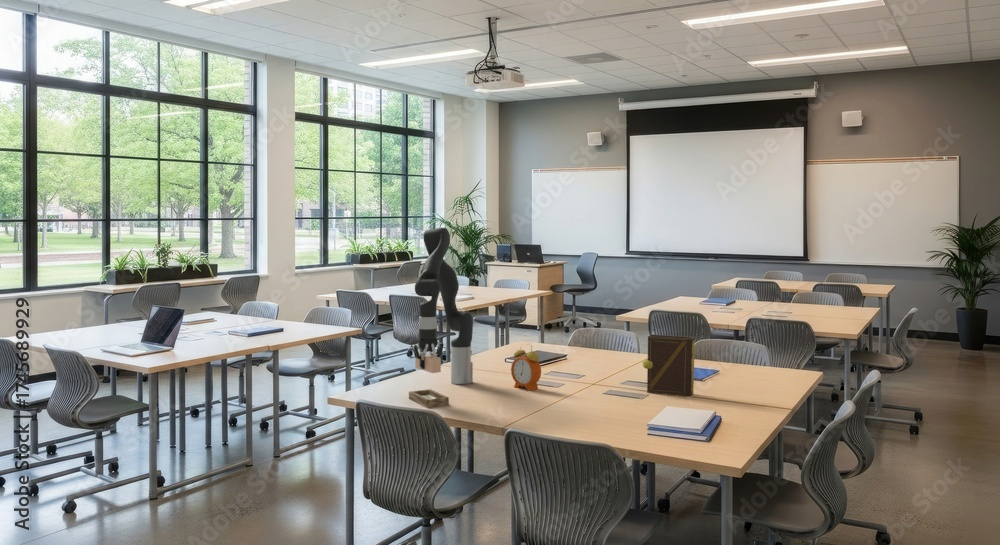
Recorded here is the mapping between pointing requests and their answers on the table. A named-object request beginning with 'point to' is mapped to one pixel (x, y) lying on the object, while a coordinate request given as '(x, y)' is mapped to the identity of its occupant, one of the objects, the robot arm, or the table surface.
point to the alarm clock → (526, 369)
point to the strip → (430, 363)
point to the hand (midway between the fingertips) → (427, 367)
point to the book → (670, 365)
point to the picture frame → (428, 398)
